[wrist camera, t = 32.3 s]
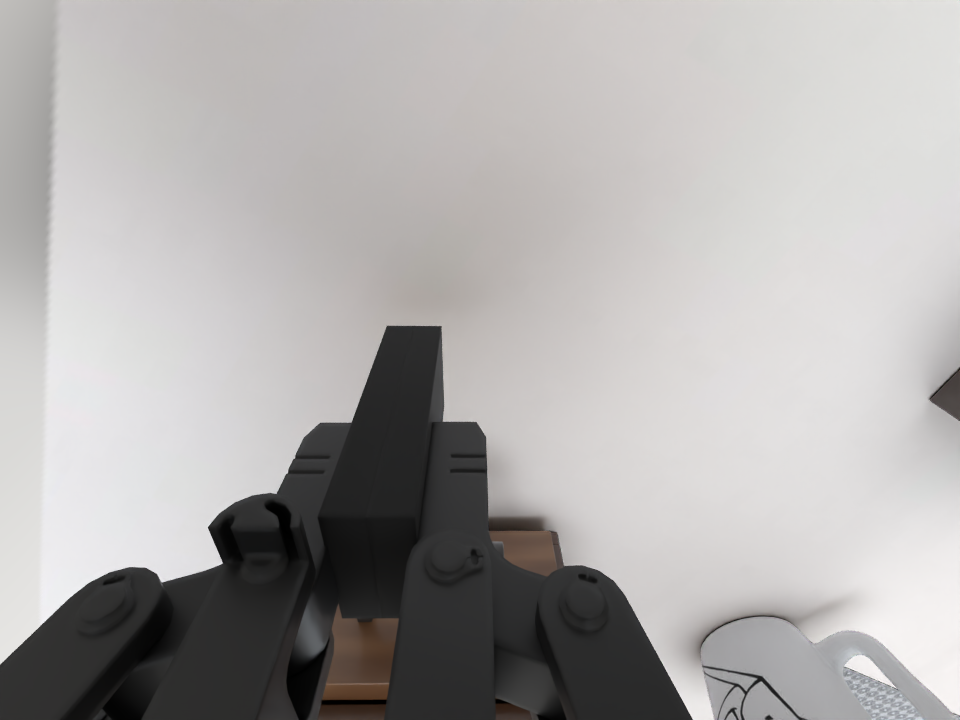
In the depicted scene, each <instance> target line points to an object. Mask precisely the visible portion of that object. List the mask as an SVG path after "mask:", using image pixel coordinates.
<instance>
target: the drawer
mask: <svg viewBox="0 0 960 720" xmlns="http://www.w3.org/2000/svg"><path fill="white" fill-rule="evenodd" d="M489 533H490V538H491V541H492V543H493V545H494V547H495V548H496V550H497V551H498V552H499V553H500V554H501V555H502V557H504V558H505V559H506V560H508V561H509V562H510V563H512V564H513V565H516V566H518V567H520V568H523V569H525V570H528V571H531V572H534V573H538V574H541V575H544V576H547V577H548V576H549V575H550V574H551V572H553V571H556V570H557V565H556V560H555V554H554V548H553V543H552V537H551V532H550V531H489ZM398 620H399V618H342V616H341V612H340V608H339V604H338V606H337V610H336V613H335V617H334V621H333V625H332V632H333V636H334V654H333V658H332V662H331V666H330V670H329V674H328V678H327V682H326V686H325V690H324V694H323V699H322V703H321V705H341V704H386V702H387V695H388V688H389V681H390V675H391V668H392V661H393V654H394V647H395V640H396V633H397V627H398ZM495 703H508V702H506V701H503V700H501V699H498V698H496V697H495Z"/></svg>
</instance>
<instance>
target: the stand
mask: <svg viewBox="0 0 960 720" xmlns="http://www.w3.org/2000/svg"><path fill="white" fill-rule="evenodd" d="M930 401H931V402H932V403H934V404H935V405H937V406H938V407H940V408H941V409H943V410H944V411H946V412H947V413H949V414H950V415H952V416H953V417H955V418H956V419H958V420H959V421H960V370H959V371H958V372H957V373H956V374H955V375H954V376H953V377H952V378H951V379H950V380H949V381H948V382H947V383H946V384H945V385H944V386H943V387H942V388H941V389H940V390H939V391H938V392H937V393H936V394H935V395H934V396H933V397H932V398H931V399H930Z"/></svg>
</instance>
